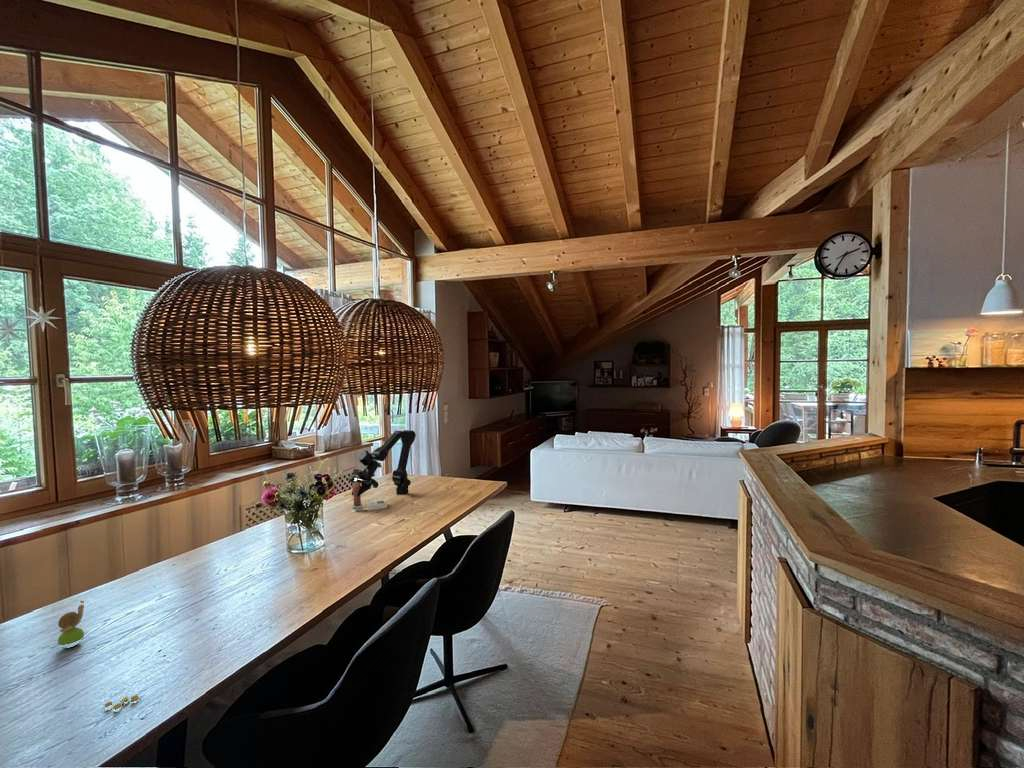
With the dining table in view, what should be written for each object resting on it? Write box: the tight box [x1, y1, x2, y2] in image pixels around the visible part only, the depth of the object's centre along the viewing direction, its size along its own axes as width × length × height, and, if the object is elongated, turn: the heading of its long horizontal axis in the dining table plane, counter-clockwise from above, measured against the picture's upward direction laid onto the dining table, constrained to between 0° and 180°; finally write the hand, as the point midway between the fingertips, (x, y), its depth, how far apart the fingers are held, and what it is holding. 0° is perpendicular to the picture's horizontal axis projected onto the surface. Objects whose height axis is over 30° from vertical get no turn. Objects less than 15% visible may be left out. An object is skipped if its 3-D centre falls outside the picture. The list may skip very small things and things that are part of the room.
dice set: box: [104, 694, 139, 710], centre depth 107 cm, size 5×5×2 cm
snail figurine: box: [57, 600, 85, 646], centre depth 131 cm, size 5×6×12 cm
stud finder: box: [366, 499, 388, 511], centre depth 243 cm, size 10×6×3 cm, turn 113°
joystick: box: [352, 482, 363, 510], centre depth 239 cm, size 5×5×14 cm
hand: (354, 495), depth 238 cm, fingers closed on joystick, 3 cm apart
